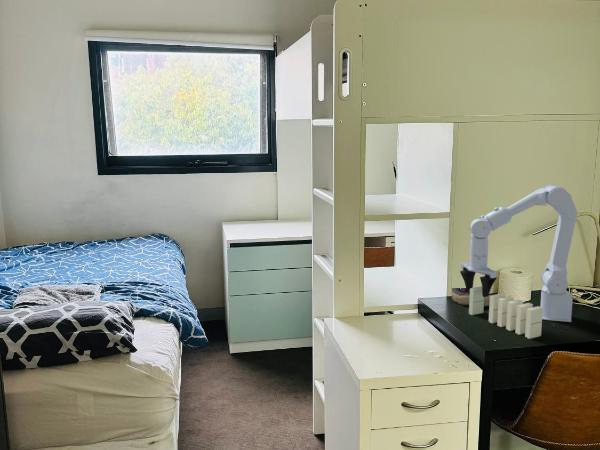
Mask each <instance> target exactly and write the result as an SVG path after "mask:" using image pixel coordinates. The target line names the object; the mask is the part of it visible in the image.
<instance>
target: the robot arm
mask: <svg viewBox="0 0 600 450" xmlns="http://www.w3.org/2000/svg"><path fill="white" fill-rule="evenodd" d="M547 204H548V205H549V206H551V208H553V209H554V211H555V212H556V213H557V214H558V219H557V223H556V229H555V232H554V237H553V238H554V239H553V243H552V247H551V252H550V258H549V261H548V262H547V263H546V266H545V269H544V271H542V273H541V276H540V280H541V282H542V284H543V286H542V287H541V292H540V305H539V307H542V308H543V313H542V321H543V320H544V321H545V320H546V321H554V322H555V321H556V322H565V323H566V322H568V323H572V313H573V312H572V311H573V294H572V292H568V291H567V289H568V286H569V285H568V284H569V283H568V280H567V279H568V278H567V276H568V271H567V263H568V258H569V253H570V248H571V244H572V240H573V234H574V232H575V231H574V230H575V226H576V221H577V218H578V217H577V216H578V210H577V208H576V206H575V205H576V204H575V203H574V201H573V197H572V195H571V194H570V193H569V191H567V190H566V189H565V188H563V187H559V186H558V185H556V184H554V183H553V184H552V183H551V184H547V185H545V186H544V187H540V188H538V189H537V190H535V191H533V192H532V193H530V194H527V195H526V196H525V197H523V198H521V199H519V200H518V201H516V202H515V203H513V204H511V205H509V206H507V207H503V206H500V207H497V206H496V207H493V211H490V212H489V213H487V214H482V215H481V216H480V218H475V219H473V220H472V221H471V223H470V226H469V231H470V233H471V234H470V241H469V242H470V243H469V262H460V264H461V265H460V269H462V270H460V271H459V272H460V274H461V275H460V276H461V277H462V280H463V281H464V286H466V291H470V288H474V281H475V280H474V279H475V275H476V273H477V274H480V275H483V276H480V277H479V279H480V283H481V287H482V295H483V297H488V296H489V295H490V294H491V290H492V287H493V285H494V284H495V282H496V280H497V278H498V277H497V272H498V271H497V270H496V271H495V270H493V269H491V268H489V267H488V262H489V261H488V256H489V255H488V254H489V235H490V233H491V232H493V231H495V230H498V229H499V228H501V227H503V226H505V225H507V224H509V223H510V222H511V220H512V218H513V217H514V216H516V215H518V214H520V213H521V212H524V211H526V210H528V209H530V208H532V207H534V206H542V207H543V206H544V207H545V206H547Z"/></svg>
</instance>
